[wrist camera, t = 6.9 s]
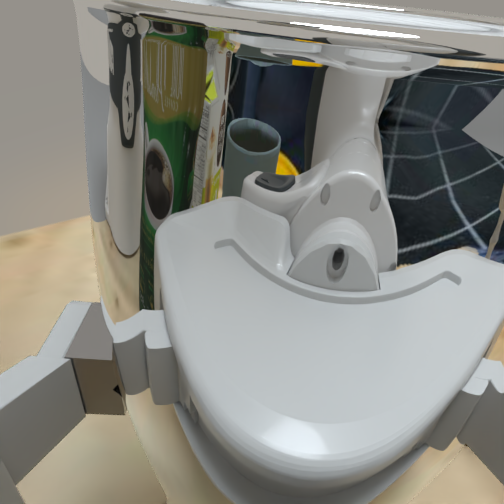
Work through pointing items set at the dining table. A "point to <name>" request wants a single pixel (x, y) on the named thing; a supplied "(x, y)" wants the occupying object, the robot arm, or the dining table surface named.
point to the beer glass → (297, 239)
